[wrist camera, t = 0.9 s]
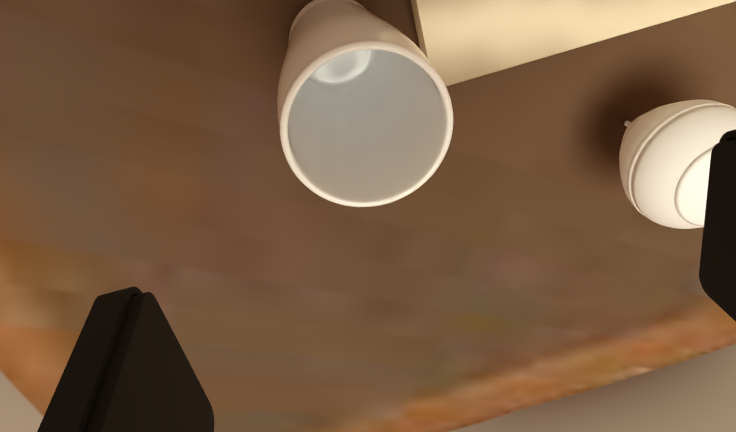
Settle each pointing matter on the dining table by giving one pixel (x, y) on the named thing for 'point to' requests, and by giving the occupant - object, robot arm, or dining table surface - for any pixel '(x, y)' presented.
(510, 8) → the board
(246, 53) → the dining table surface
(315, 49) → the drinking glass
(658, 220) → the spinning top
